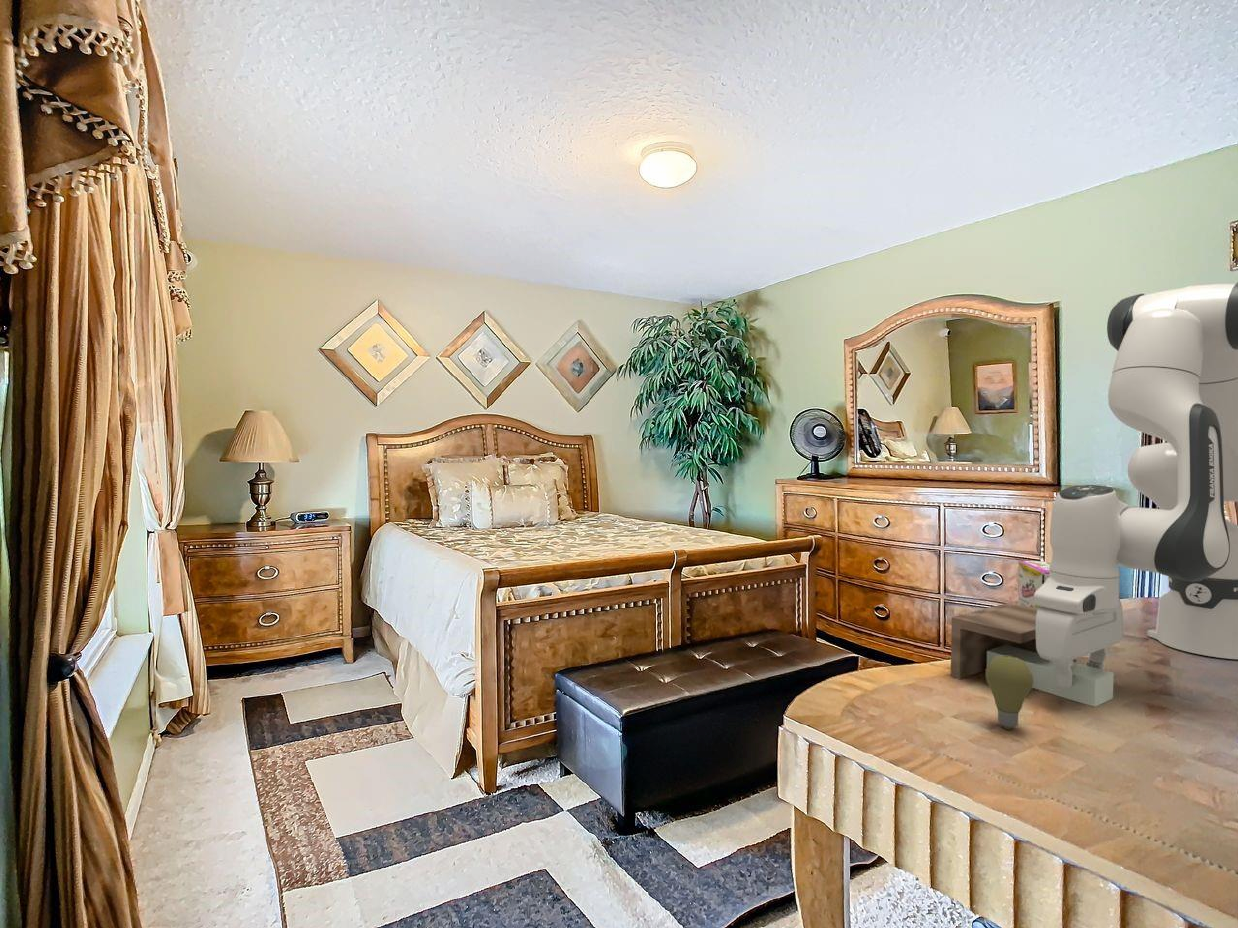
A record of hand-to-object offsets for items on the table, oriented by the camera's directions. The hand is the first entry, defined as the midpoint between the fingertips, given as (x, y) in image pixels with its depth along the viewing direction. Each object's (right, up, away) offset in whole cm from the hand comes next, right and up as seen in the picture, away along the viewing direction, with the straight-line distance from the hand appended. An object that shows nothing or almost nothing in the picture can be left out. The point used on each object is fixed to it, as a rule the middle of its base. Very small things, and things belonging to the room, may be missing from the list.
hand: (1080, 679), depth 101 cm
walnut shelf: (-5, -2, +9) cm, 10 cm away
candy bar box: (+7, -2, +20) cm, 21 cm away
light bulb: (-18, -3, -11) cm, 21 cm away
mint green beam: (-3, -2, +4) cm, 5 cm away
